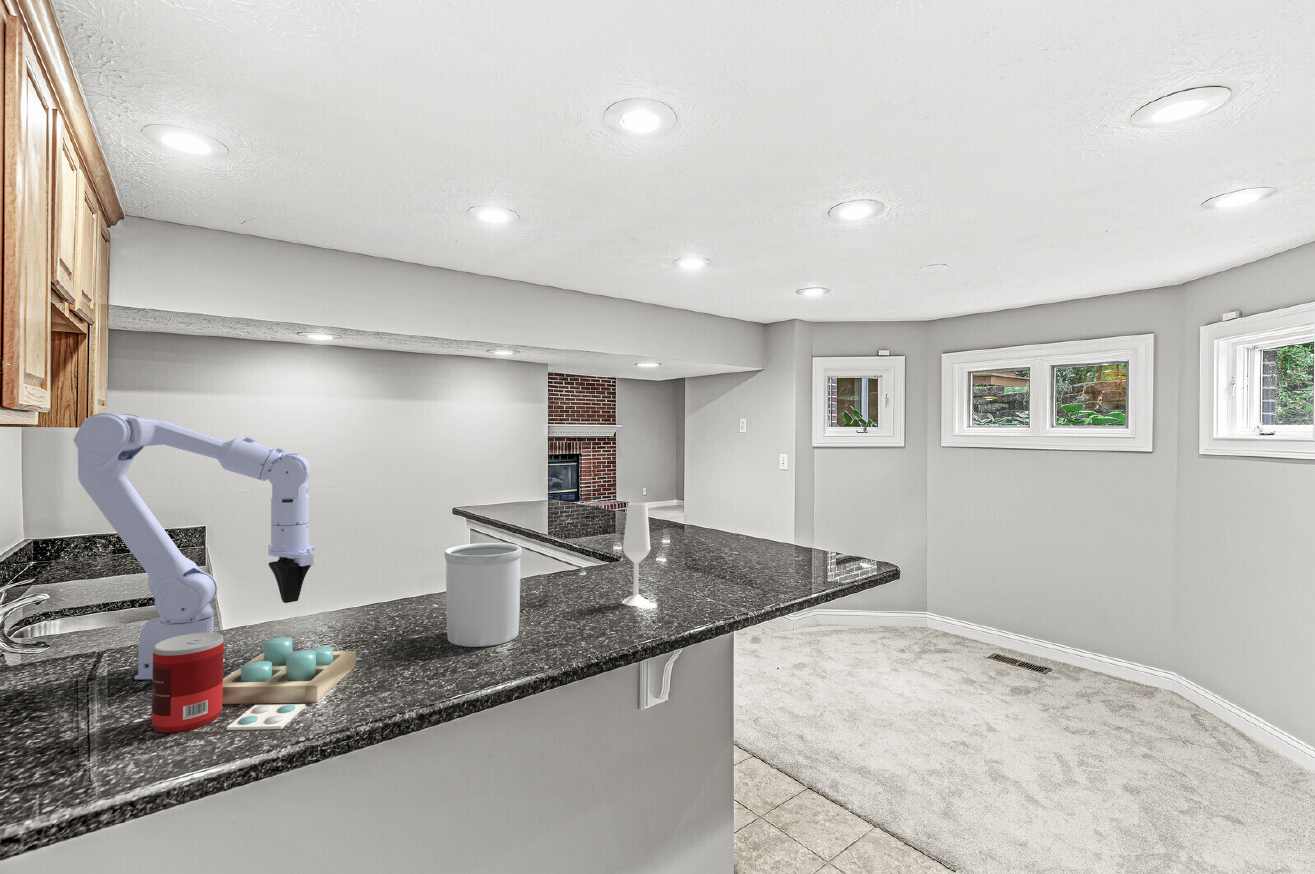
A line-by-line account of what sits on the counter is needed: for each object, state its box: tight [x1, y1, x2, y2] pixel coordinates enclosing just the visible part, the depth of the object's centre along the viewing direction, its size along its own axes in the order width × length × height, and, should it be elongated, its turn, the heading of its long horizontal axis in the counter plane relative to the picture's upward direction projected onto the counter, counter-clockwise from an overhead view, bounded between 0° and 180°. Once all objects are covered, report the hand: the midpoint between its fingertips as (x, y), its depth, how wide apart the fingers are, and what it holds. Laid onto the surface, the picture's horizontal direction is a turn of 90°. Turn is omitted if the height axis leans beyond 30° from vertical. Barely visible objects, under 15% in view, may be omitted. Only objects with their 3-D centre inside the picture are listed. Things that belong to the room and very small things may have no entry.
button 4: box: [308, 646, 334, 666], centre depth 104 cm, size 4×4×4 cm
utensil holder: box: [444, 542, 523, 648], centre depth 126 cm, size 15×15×18 cm
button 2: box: [263, 636, 293, 666], centre depth 104 cm, size 4×4×4 cm
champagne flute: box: [621, 502, 651, 607], centre depth 154 cm, size 7×7×24 cm
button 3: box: [286, 649, 316, 681], centre depth 98 cm, size 4×4×4 cm
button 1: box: [240, 661, 272, 682], centre depth 97 cm, size 4×4×4 cm
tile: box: [226, 703, 306, 731], centre depth 89 cm, size 7×7×1 cm
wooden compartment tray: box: [222, 650, 357, 705], centre depth 101 cm, size 15×15×2 cm
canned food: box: [151, 632, 225, 734], centre depth 87 cm, size 8×8×11 cm
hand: (290, 601), depth 110 cm, fingers closed
